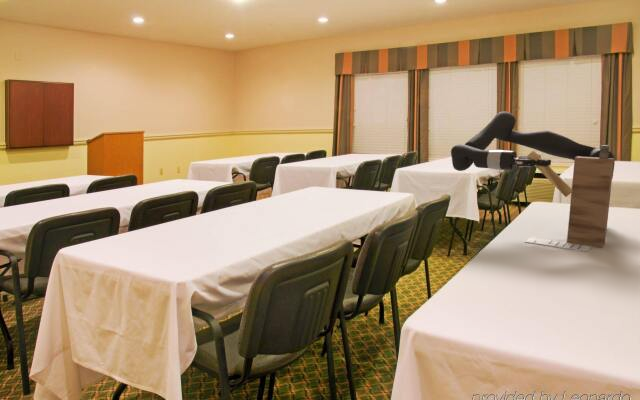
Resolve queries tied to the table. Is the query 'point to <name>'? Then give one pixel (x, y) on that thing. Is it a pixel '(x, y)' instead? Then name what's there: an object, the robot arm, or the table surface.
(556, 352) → the table surface
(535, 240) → the letter
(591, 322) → the table surface
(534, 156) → the block
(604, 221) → the brown piece
